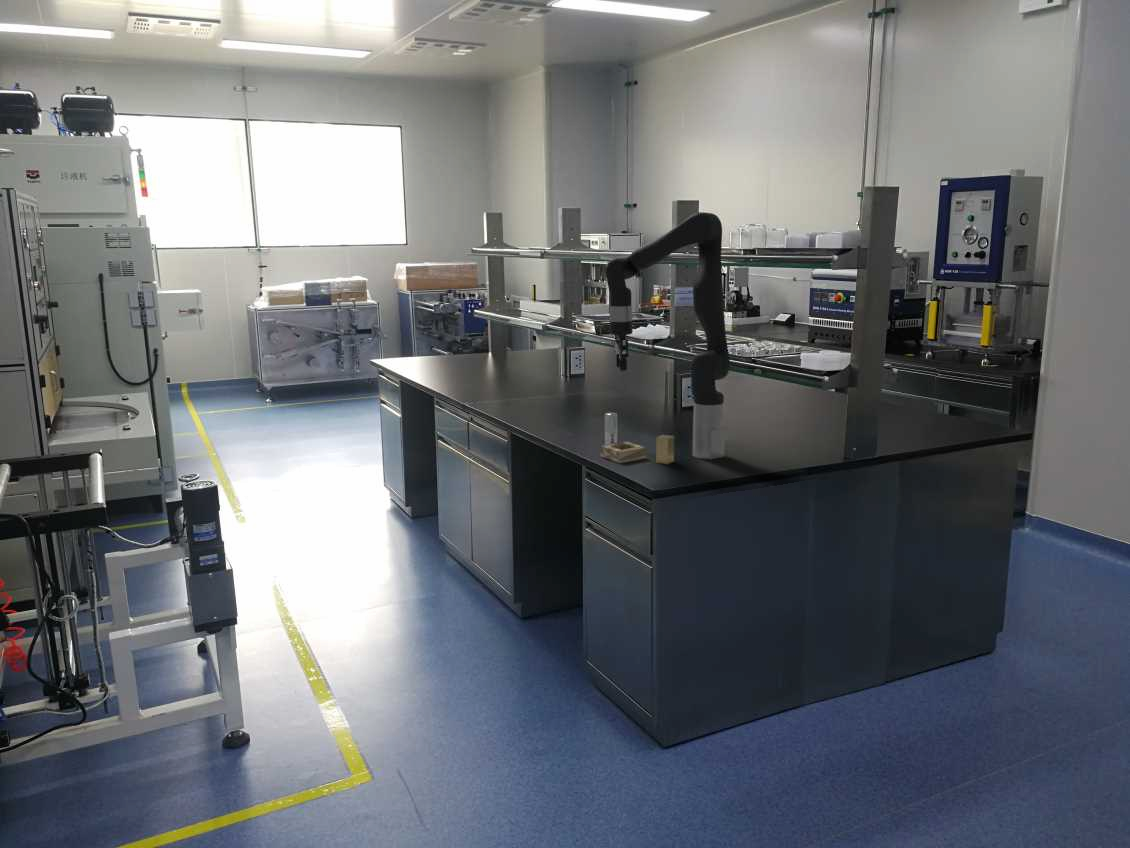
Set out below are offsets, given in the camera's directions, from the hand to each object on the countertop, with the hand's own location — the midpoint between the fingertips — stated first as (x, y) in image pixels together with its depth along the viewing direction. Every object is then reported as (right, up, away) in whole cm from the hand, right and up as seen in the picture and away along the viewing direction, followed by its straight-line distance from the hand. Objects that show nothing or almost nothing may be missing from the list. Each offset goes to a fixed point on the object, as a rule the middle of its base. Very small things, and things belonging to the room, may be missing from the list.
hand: (621, 368), depth 283 cm
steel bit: (-4, -27, -5) cm, 27 cm away
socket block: (-1, -29, -14) cm, 32 cm away
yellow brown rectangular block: (+12, -30, -20) cm, 38 cm away
